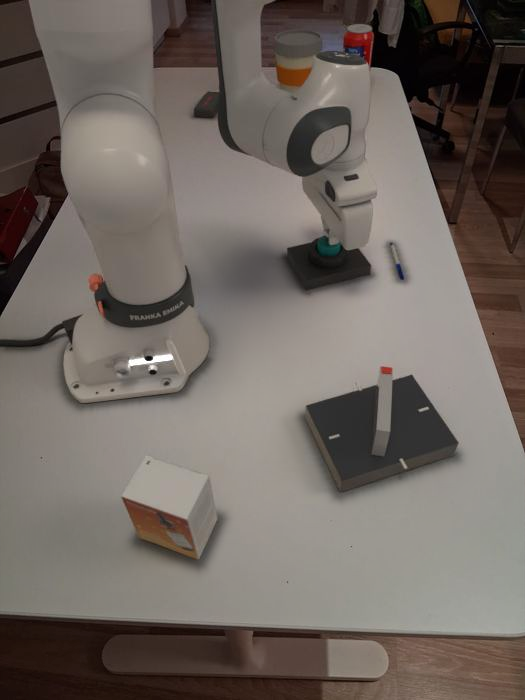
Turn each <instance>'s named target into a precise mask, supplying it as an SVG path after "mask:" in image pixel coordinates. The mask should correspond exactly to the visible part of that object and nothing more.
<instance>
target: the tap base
mask: <svg viewBox="0 0 525 700" xmlns="http://www.w3.org/2000/svg"><path fill="white" fill-rule="evenodd" d="M355 386H356V387H357V390H354V391H351V392H348V393H343V394H340V395H337V396H333V397H330V398H326V399H323V400H319V401H316V402H313V403H309V404H305V415H304V416H305V417H304V418H305V421H306V423H307V425H308V427H309V430H310V432H311V433H312V436H313V438H314V440H315V442H316V444H317V446H318V448H319V451H320V453H321V455H322V457H323V459H324V461H325V463H326V466H327V467H328V471H329V472H330V474H331V475H332V478H333V480H334V482H335V484H336V487H337V489H338V491H339V493H342V492H346V491H349V490H353V489H354V488H358V487H361V486H364V485H367V484H370V483H373V482H376V481H380V480H383V479H386V478H389V477H392V476H395V475H397V474H401V473H405V472H407V471H411V470H413V469H417V468H419V467H422V466H425V465H429V464H431V463H435V462H438V461H440V460H444V459H446V458H449V457H454V455H455V454H456V451H457V448H458V446H459V440H457V438H456V437H455V435H454V433H453V432H452V431H451V429H450V428H449V427H448V425H447V423H446V422H445V421H444V419H443V418H442V416H441V414H440V413H439V411H437V409H436V407H435V406H434V405H433V403H432V402H431V400H430V398H428V396H427V394H426V393H425V391H424V390H423V388H422V387H421V385H420V384H419V383H418V381H417V380H416V378H415V377H414V375H413V374H409V375H406V376H402V377H399V378H395V379H392V403H391V427H390V435H389V439H388V443H387V447H386V452H385V456H384V457H383V456H376V455H371V452H372V437H373V422H374V407H375V393H376V387H377V384H375V385H371V386H368V387H365V388H362V387H361V386H360V384H359V382H355Z"/></svg>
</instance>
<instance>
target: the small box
mask: <svg viewBox="0 0 525 700" xmlns="http://www.w3.org/2000/svg"><path fill="white" fill-rule="evenodd" d="M120 498H121V500H122V502H123V504H124V506H125V509H126V511H127V513H128V516H129V518H130V520H131V523H132V525H133V527H134V530H135V532H136V534H137V536H138V538H139V539H141V540H143V541H144V540H145V541H147V542H150V543H153V544H155V545H157V546H161V547H163V548H166V549H169V550H170V551H174V552H176V553H179V554H182V555H184V556H187V557H189V558H192V559H194V560H197V561H198V560H200V558H201V556H202V554H203V552H204V550H205V547H206V546H207V543H208V541H209V539H210V536H211V535H212V533H213V530H214V528H215V526H216V523H217V521H218V520H219V519H218V513H217V509H216V503H215V497H214V491H213V486H212V483H211V476H210V475H209V474H207V473H202V472H199V471H196V470H193V469H189V468H186V467H183V466H180V465H177V464H174V463H171V462H168V461H166V460H163V459H160V458H156V457H154V456H151V455H149V454H145V456H144V457H143V459H142V461H141V462H140V464H139V466H138V467H137V469H136V471H135V472H134V474H133V476H132V477H131V479H130V481H129V482H128V483H127V485H126V487H125V489H124V491H123V492H122V494H121V496H120Z"/></svg>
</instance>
